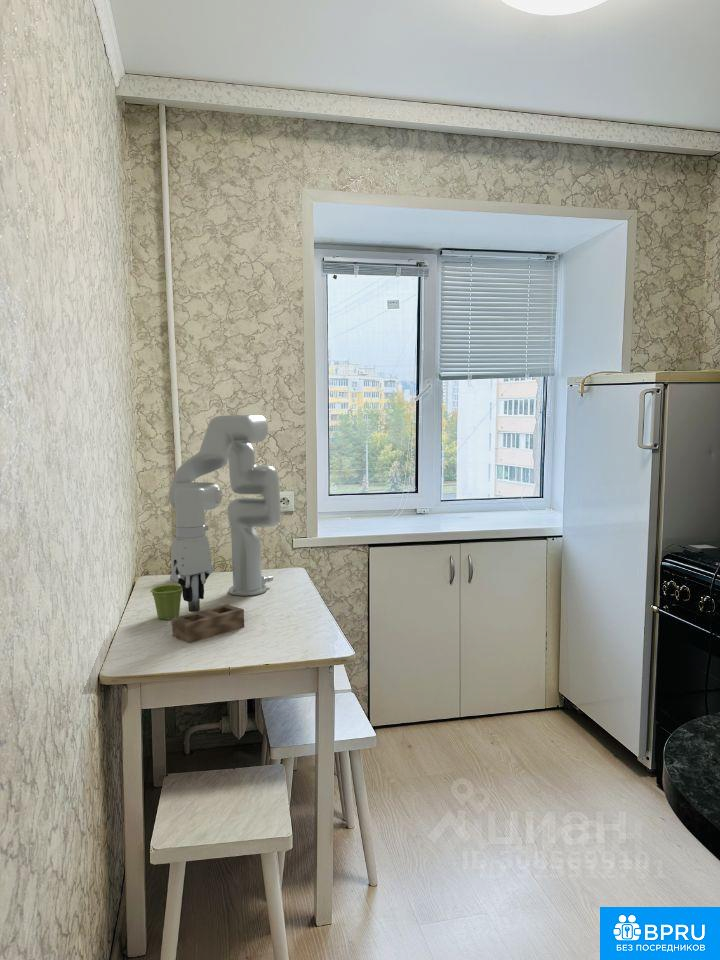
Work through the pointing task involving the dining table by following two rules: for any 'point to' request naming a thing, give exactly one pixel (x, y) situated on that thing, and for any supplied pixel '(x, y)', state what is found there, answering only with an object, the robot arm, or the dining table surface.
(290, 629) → the dining table surface
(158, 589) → the plant pot
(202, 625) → the socket block
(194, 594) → the pin
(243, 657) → the dining table surface
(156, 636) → the dining table surface
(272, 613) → the dining table surface
